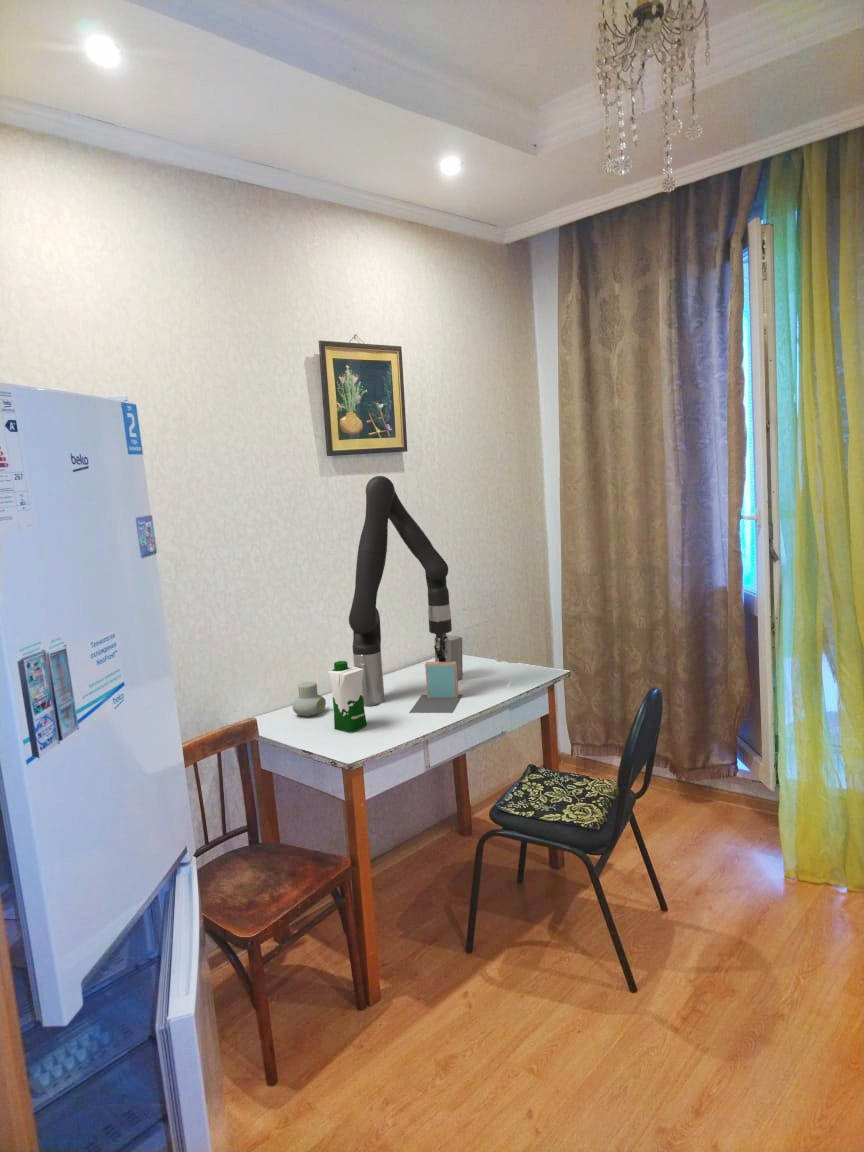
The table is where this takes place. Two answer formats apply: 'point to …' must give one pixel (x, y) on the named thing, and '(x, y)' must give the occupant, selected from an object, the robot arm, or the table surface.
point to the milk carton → (347, 697)
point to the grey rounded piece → (308, 700)
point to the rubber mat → (435, 705)
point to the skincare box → (454, 653)
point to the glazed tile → (442, 680)
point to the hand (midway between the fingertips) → (443, 668)
